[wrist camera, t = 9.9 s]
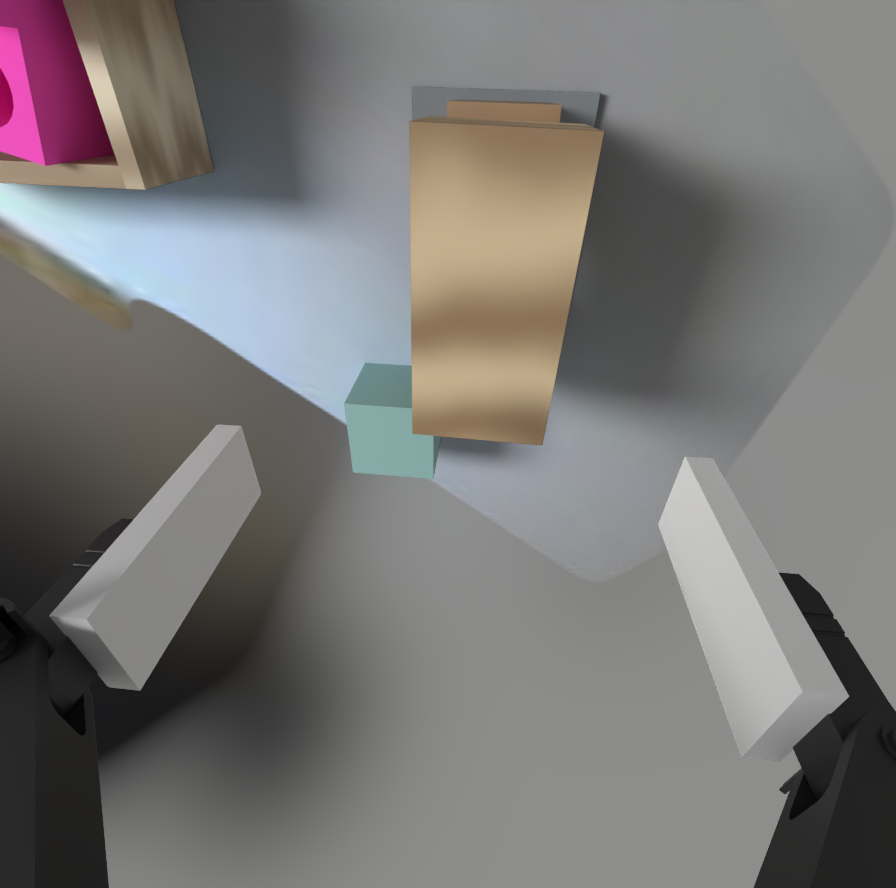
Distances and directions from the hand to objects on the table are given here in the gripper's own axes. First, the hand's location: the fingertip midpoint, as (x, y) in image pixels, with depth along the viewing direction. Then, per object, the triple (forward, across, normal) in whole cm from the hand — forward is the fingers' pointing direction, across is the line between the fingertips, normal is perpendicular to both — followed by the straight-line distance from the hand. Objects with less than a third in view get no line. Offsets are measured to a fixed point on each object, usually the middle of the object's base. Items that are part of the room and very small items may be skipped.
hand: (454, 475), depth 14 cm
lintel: (+14, +1, +2) cm, 15 cm away
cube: (+21, -6, -10) cm, 24 cm away
